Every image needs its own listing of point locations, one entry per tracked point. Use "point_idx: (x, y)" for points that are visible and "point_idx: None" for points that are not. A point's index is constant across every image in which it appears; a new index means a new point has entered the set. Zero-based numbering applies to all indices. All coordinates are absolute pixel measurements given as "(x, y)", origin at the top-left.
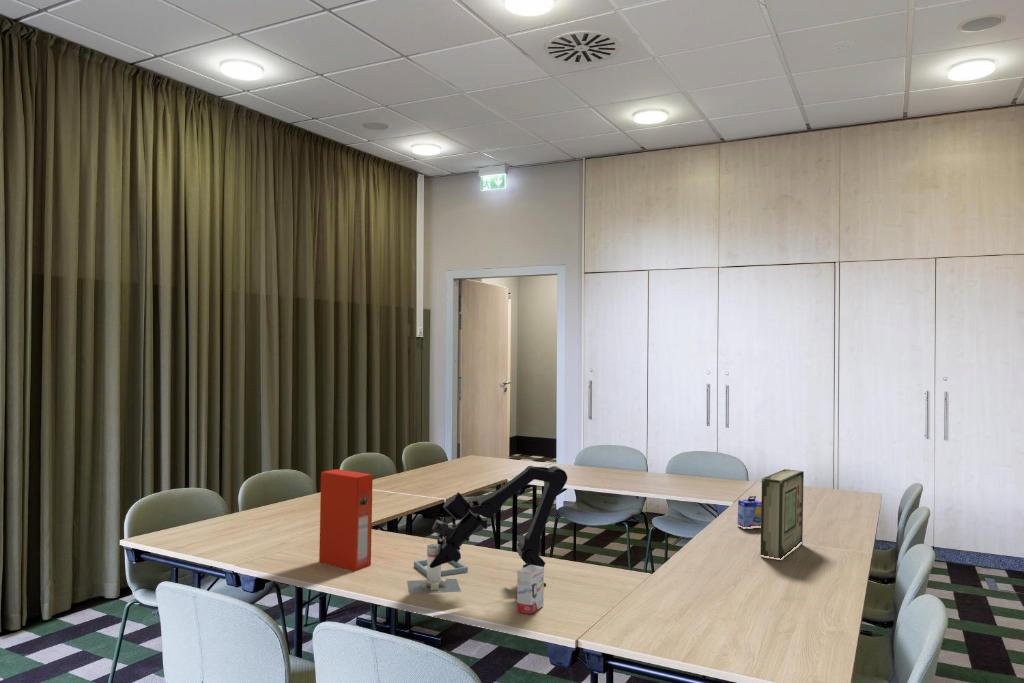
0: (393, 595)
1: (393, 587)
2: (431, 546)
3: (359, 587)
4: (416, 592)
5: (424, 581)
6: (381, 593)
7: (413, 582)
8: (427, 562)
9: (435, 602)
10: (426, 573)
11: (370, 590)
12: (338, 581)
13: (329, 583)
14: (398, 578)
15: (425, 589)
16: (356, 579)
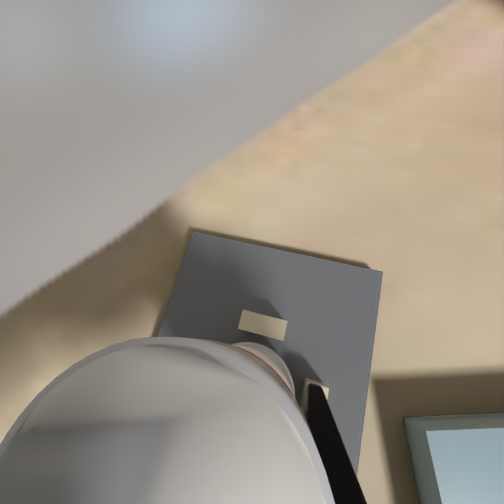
0: (243, 183)
1: (344, 204)
2: (144, 435)
3: (384, 87)
4: (193, 265)
5: (245, 325)
6: (284, 147)
7: (345, 295)
8: (231, 344)
9: (81, 324)
10: (475, 422)
11: (335, 117)
12: (480, 33)
13: (460, 8)
14: (481, 258)
15: (213, 321)
16: (497, 89)
